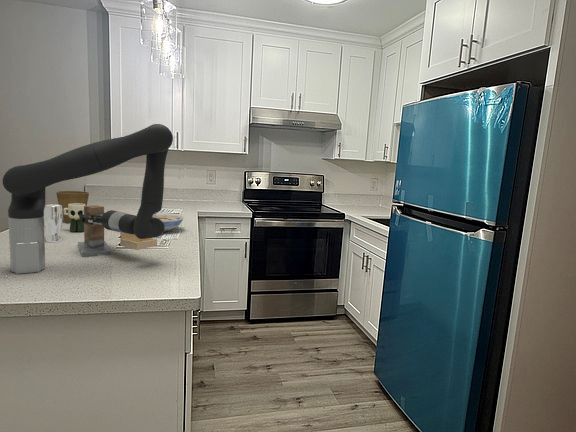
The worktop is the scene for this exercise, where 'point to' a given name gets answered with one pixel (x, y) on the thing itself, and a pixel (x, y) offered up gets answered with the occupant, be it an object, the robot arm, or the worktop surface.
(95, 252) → the blue-grey flat slab
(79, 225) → the character mug
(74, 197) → the plant pot
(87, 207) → the walnut block
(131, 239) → the carton
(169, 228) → the ramen bowl
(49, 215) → the beer glass
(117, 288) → the worktop surface
